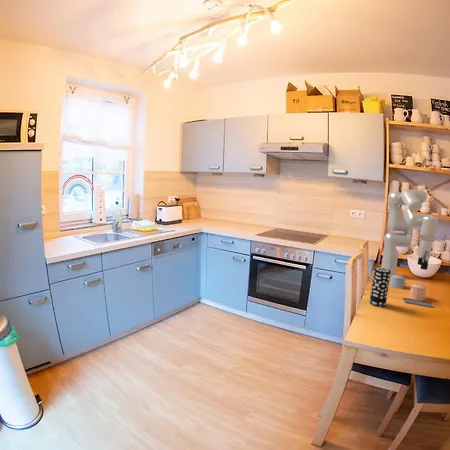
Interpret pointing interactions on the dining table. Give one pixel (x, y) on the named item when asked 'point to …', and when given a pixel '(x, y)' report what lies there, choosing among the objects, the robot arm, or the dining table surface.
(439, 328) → the dining table surface
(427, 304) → the mat
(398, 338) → the dining table surface
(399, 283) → the grey cup
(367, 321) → the dining table surface
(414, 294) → the peach rounded capsule
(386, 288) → the spotted tube
